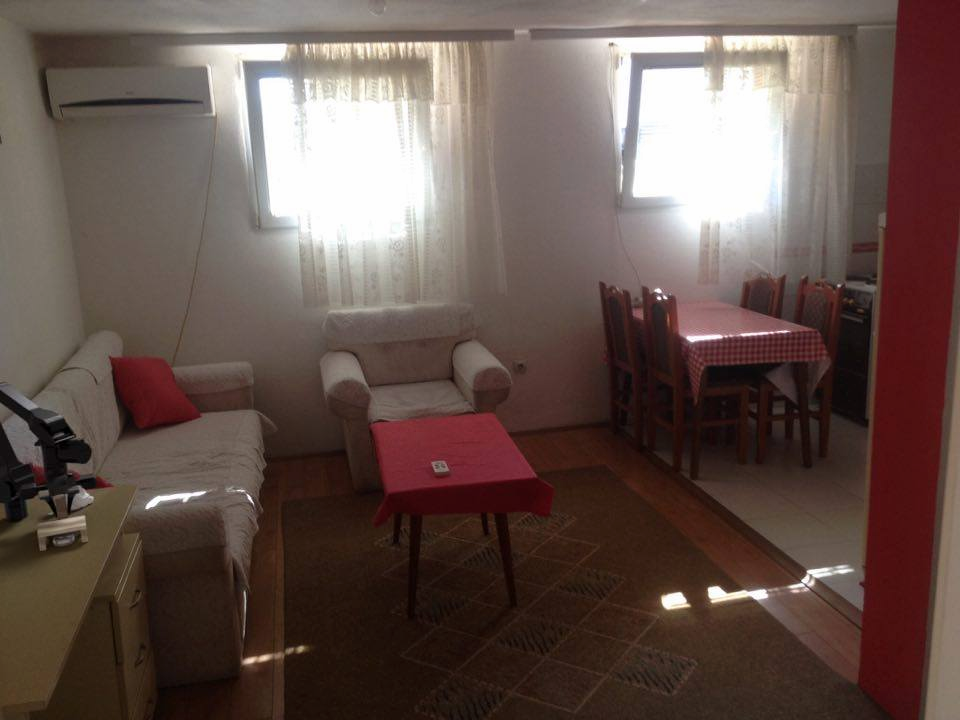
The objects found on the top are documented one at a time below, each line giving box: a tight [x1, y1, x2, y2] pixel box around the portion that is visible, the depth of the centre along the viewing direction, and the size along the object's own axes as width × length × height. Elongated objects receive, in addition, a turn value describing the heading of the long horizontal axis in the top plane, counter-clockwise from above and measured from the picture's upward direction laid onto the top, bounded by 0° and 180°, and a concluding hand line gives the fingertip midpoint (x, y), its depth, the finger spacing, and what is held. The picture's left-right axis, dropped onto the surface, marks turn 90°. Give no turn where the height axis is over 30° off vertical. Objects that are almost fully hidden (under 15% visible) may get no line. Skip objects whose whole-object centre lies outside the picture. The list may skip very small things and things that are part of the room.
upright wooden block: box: [52, 495, 77, 539], centre depth 223 cm, size 16×5×7 cm, turn 27°
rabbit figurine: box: [47, 472, 94, 516], centre depth 239 cm, size 12×8×10 cm, turn 118°
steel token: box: [52, 534, 76, 548], centre depth 214 cm, size 5×5×2 cm
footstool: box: [37, 514, 89, 552], centre depth 215 cm, size 8×11×4 cm
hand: (62, 516), depth 228 cm, fingers closed on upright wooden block, 2 cm apart
